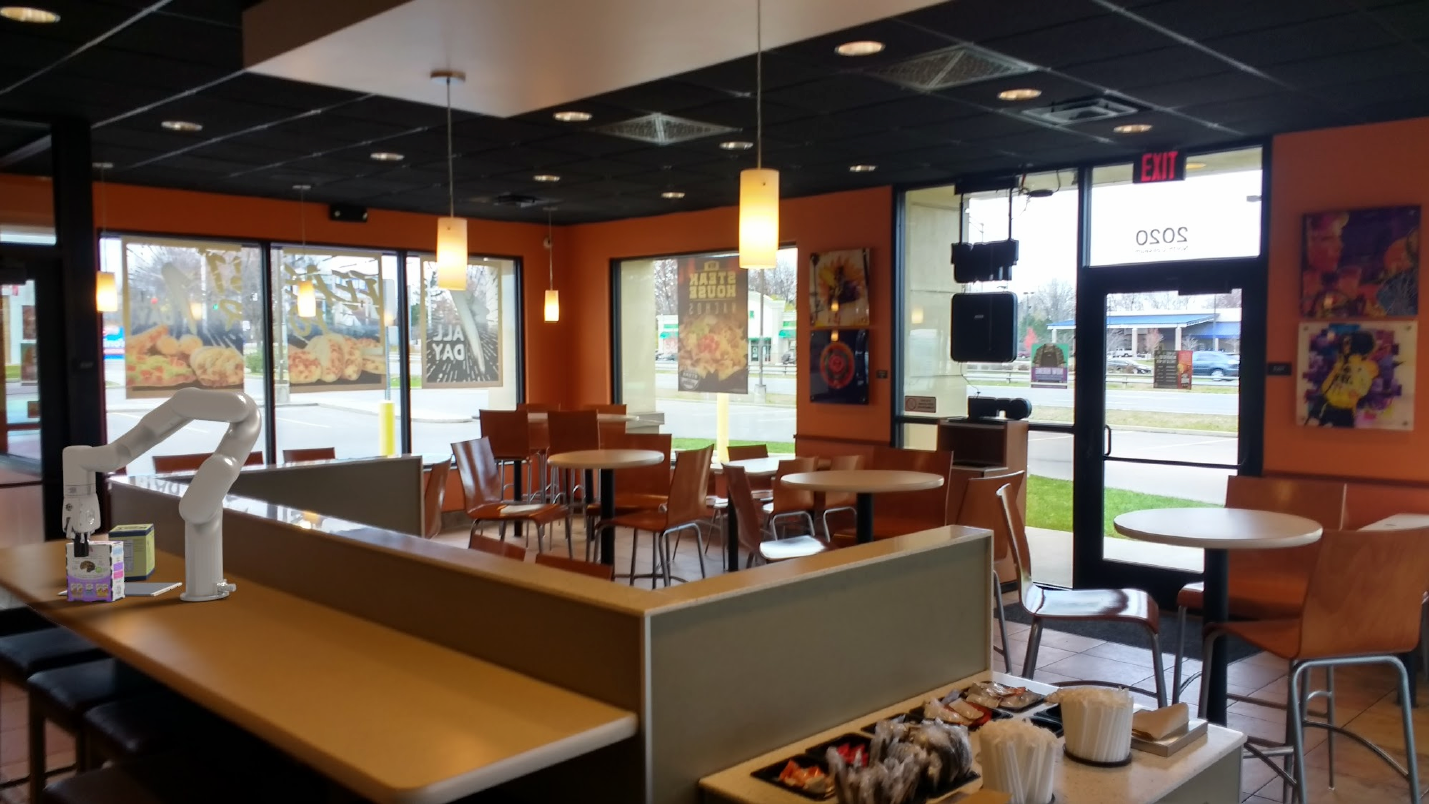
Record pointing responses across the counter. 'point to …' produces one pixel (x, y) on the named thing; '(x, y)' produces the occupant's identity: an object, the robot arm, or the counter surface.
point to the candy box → (96, 572)
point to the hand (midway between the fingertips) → (81, 556)
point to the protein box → (136, 549)
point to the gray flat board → (144, 588)
